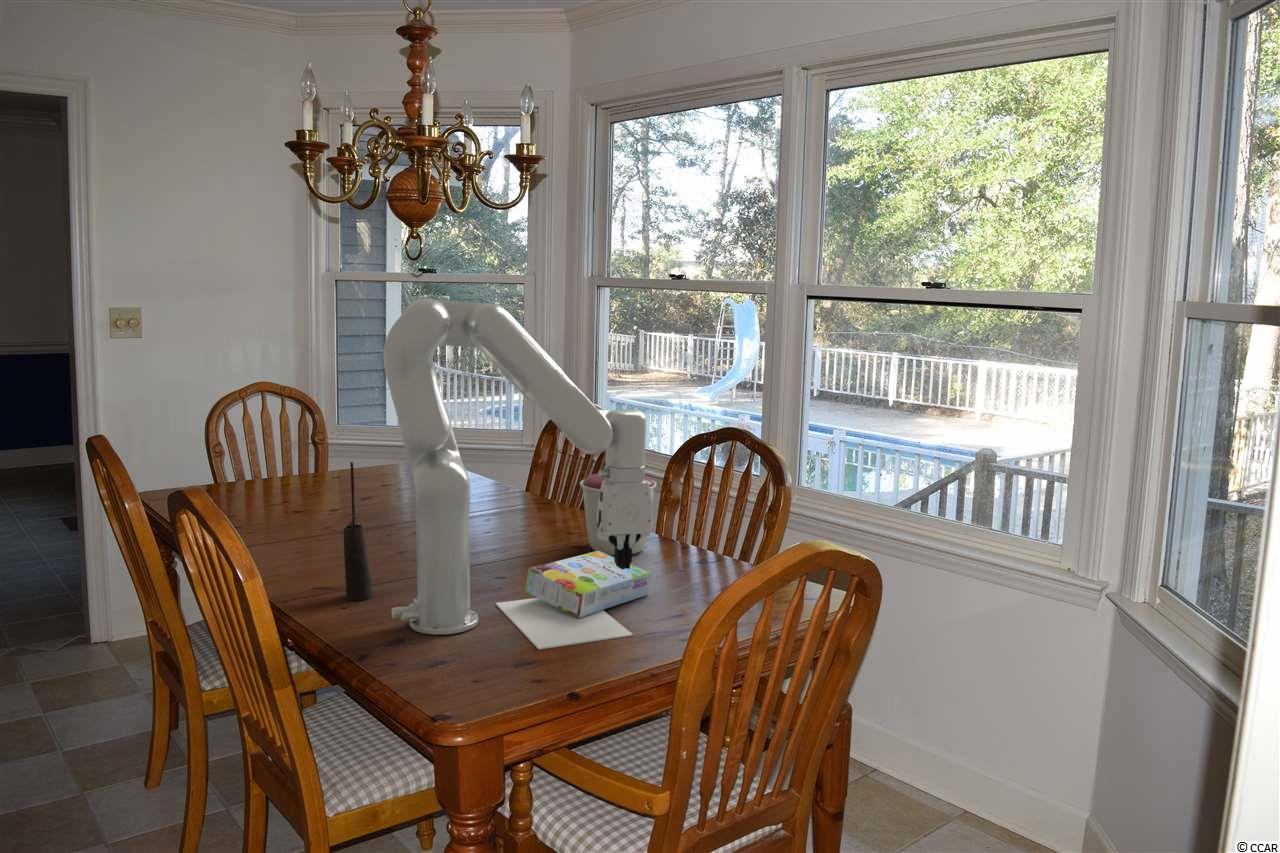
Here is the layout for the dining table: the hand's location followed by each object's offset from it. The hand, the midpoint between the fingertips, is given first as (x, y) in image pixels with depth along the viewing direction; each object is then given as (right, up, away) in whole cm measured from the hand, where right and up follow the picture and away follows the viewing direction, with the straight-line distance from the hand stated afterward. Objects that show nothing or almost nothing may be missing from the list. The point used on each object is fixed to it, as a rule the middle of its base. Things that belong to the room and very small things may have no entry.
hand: (622, 567), depth 193 cm
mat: (-12, -9, -4) cm, 15 cm away
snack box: (-1, -6, +2) cm, 7 cm away
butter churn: (-54, -7, +8) cm, 55 cm away
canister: (-2, -2, +44) cm, 44 cm away
